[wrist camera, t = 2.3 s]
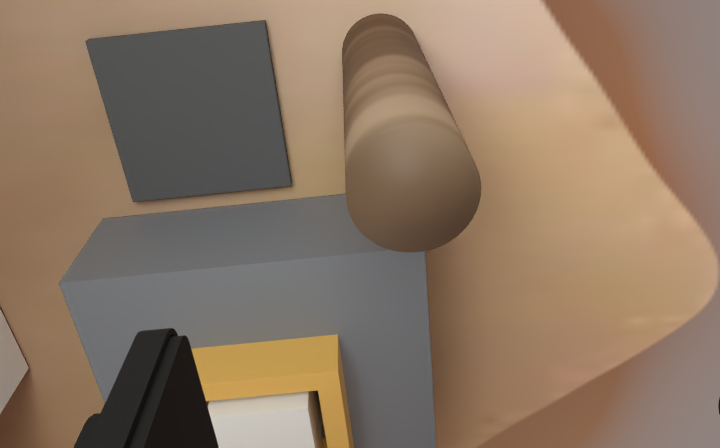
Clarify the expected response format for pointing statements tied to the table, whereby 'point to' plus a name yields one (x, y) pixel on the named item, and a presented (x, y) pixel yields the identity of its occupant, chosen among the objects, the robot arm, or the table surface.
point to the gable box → (9, 363)
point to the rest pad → (193, 110)
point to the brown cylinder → (401, 143)
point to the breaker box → (268, 311)
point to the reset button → (268, 421)
